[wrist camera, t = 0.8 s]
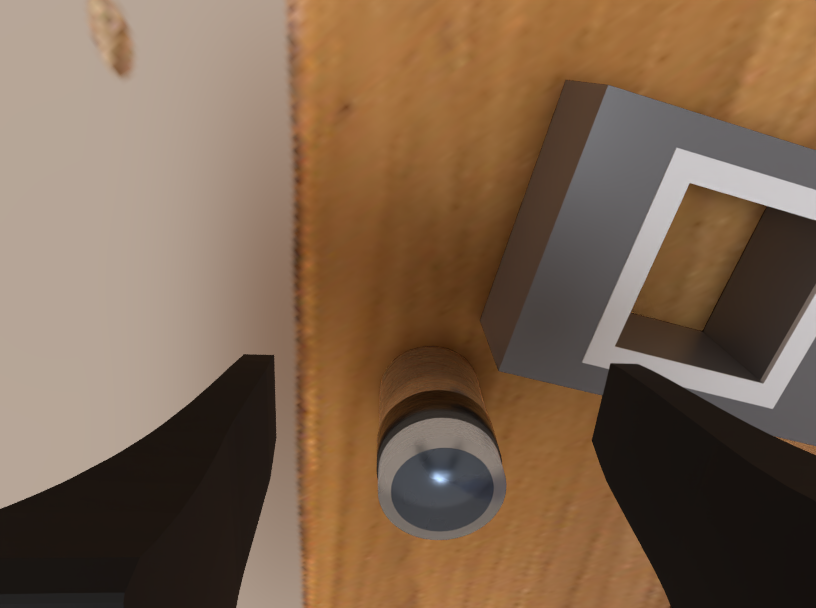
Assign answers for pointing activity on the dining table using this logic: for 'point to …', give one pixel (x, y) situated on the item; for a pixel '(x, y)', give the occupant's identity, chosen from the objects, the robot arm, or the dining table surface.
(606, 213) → the grey hollow block
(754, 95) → the dining table surface
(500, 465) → the lens
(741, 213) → the dining table surface
